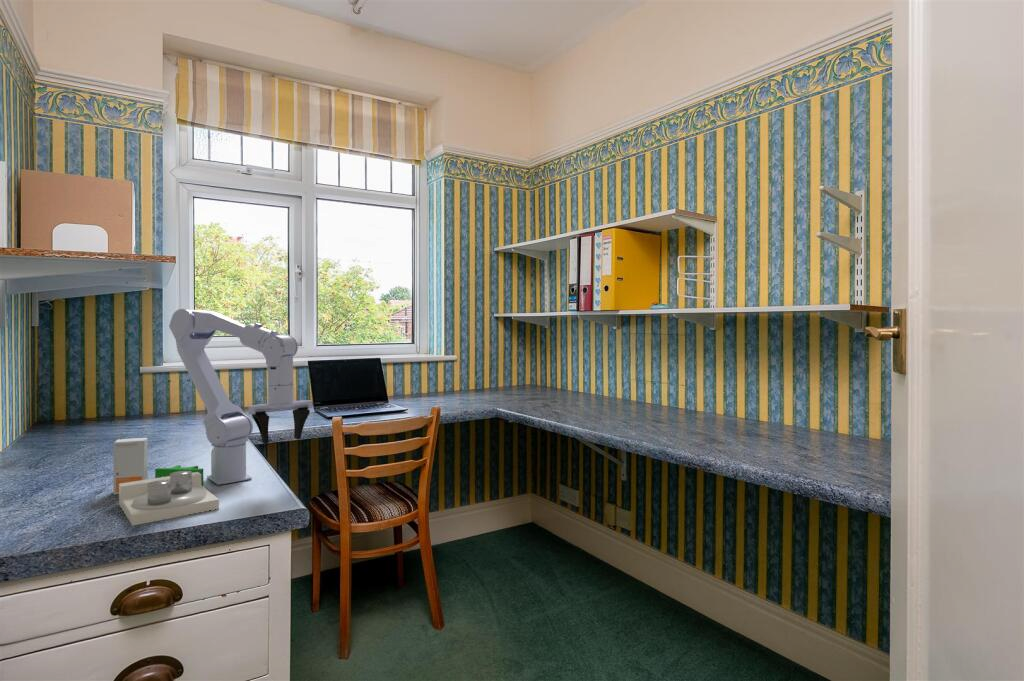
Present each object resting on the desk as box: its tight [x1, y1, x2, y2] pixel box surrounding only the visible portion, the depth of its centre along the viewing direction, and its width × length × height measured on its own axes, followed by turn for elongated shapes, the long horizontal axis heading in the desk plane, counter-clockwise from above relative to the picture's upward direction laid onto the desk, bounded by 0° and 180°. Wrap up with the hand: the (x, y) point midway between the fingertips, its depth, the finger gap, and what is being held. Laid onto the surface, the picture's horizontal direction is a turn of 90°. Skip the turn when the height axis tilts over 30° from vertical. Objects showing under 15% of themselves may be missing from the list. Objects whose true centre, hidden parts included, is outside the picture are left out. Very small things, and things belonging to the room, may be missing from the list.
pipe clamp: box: [154, 465, 204, 487], centre depth 133 cm, size 11×4×5 cm, turn 86°
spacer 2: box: [170, 471, 192, 494], centre depth 119 cm, size 4×4×4 cm
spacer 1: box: [147, 480, 171, 506], centre depth 112 cm, size 4×4×4 cm
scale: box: [118, 472, 220, 527], centre depth 117 cm, size 17×15×4 cm
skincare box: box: [112, 437, 149, 496], centre depth 128 cm, size 6×4×12 cm
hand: (281, 440), depth 135 cm, fingers open, 7 cm apart
